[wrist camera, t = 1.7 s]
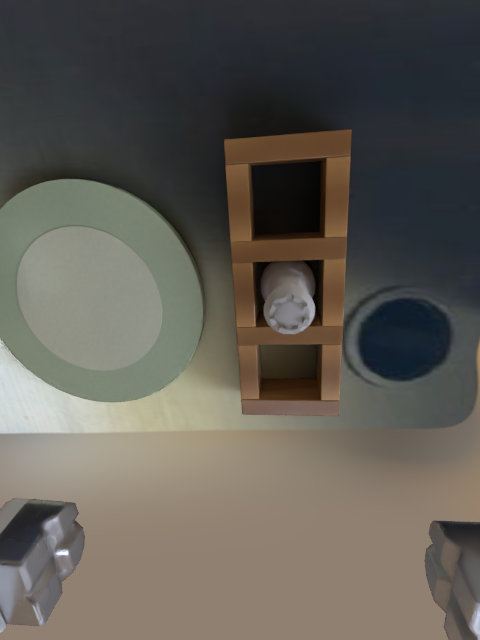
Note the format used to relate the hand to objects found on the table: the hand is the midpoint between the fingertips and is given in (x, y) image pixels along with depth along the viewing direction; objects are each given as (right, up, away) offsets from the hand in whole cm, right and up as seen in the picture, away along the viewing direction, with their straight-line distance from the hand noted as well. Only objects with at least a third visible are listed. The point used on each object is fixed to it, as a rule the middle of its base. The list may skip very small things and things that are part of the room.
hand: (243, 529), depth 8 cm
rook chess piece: (+4, +8, +21) cm, 23 cm away
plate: (-13, +7, +23) cm, 28 cm away
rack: (+4, +8, +21) cm, 23 cm away
